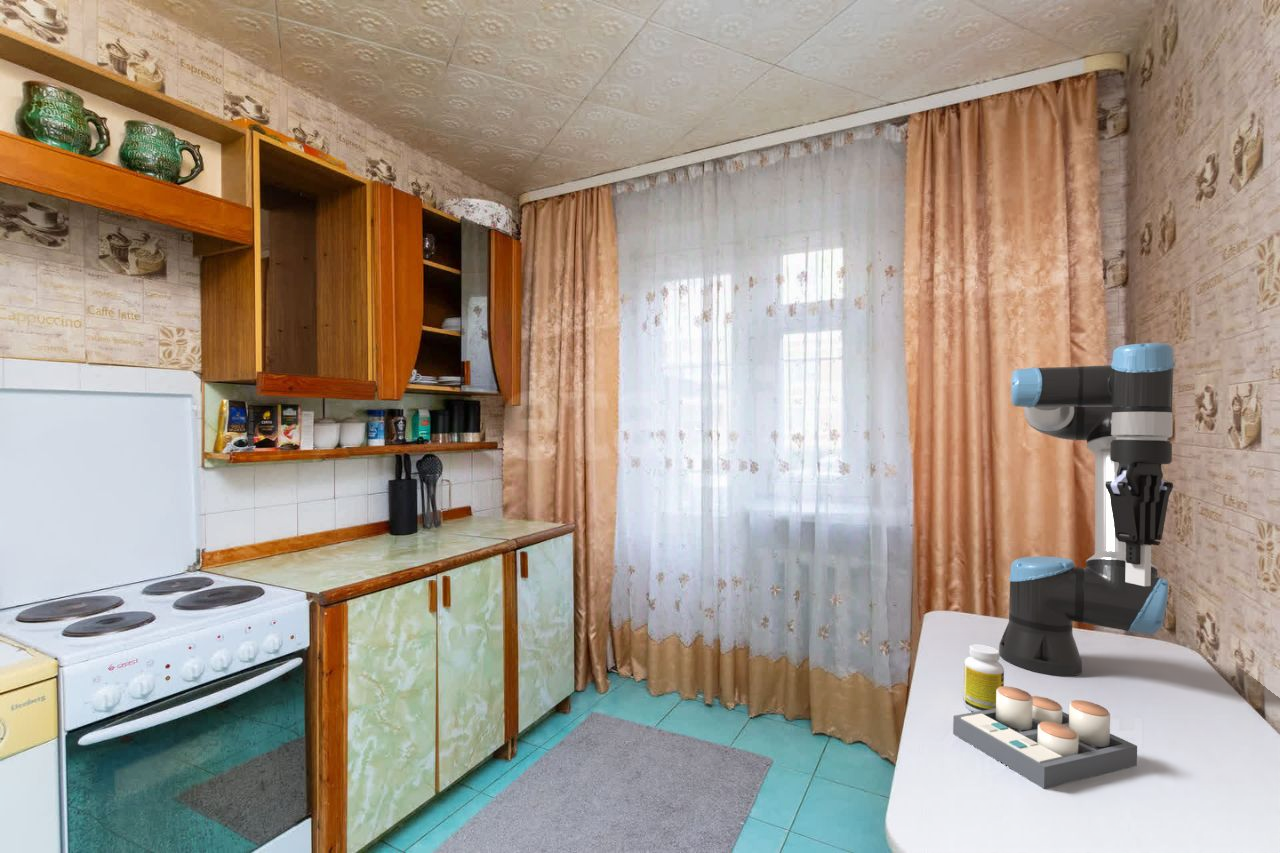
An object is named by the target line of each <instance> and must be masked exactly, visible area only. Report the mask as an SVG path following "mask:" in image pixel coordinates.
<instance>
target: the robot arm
mask: <svg viewBox="0 0 1280 853" xmlns="http://www.w3.org/2000/svg"><path fill="white" fill-rule="evenodd" d="M1175 366H1176V362H1175V360H1174V348H1173V347H1172V346H1171V345H1170V344H1167V343H1164V342H1163V343H1162V342H1161V343H1160V342H1150V343H1149V342H1148V343H1147V342H1146V343H1134V344H1133V343H1132V344H1126V345H1121V346H1118V347H1116V348H1115V349H1114V350H1113V352H1112V361H1111V363H1110V364H1108V365H1106V364H1105V365H1087V366H1086V365H1085V366H1062V367H1061V366H1060V367H1059V366H1058V367H1036V366H1035V367H1034V366H1033V367H1029V368H1018V369H1015V370H1014V371H1013V372H1012V373H1011V374H1012V375H1011V380H1010V381H1011V384H1010V387H1011V388H1010V389H1011V390H1010V395H1011V396H1010V399H1011V404H1012V405H1013V406H1014V407H1017V408H1018V407H1020V408H1021V407H1022V408H1024V409H1023V413H1024V418H1025V420H1026V423H1027V424H1028V425H1029V426H1030V427H1031V428H1033V429H1035V430H1036V431H1037V432H1040V433H1042V434H1044V435H1047V436H1050V437H1053V438H1058V439H1063V440H1069V441H1086V448H1087V449H1088V450H1089V451H1090V452H1092V453H1093V454H1094V471H1095V472H1094V485H1095V486H1094V554H1093V555H1092V556H1090V557H1089V558H1088V559H1086V561H1085V567H1079V566H1078V567H1076V563H1074V561H1073V560H1072V559H1071V558H1067V557H1058V556H1026V557H1020V558H1017V559H1015V560H1013V561H1012V562H1011V564H1010V570H1009V571H1010V573H1009V577H1008V581H1009V601H1008V602H1009V606H1008V607H1009V608H1008V623H1007V626H1005V627H1006V628H1005V629H1004V632H1003V634H1002V637H1001V640H1000V642H999V644H998V651H999V653H1000V654H999V657H1000V658H1002V659H1003V660H1004V661H1006V662H1007V663H1010V664H1012V665H1014V666H1017V667H1019V668H1022V669H1027V670H1028V671H1033V672H1036V673H1037V672H1038V673H1042V674H1047V675H1052V676H1061V677H1062V676H1064V677H1066V676H1068V677H1070V676H1072V677H1073V676H1078V675H1080V674H1081V673H1082V671H1083V670H1082V669H1083V661H1082V657H1081V656H1080V652H1079V649H1078V646H1077V644H1076V641H1075V638H1074V635H1073V622H1076V623H1081V624H1086V625H1093V626H1098V627H1105V628H1110V629H1113V630H1115V629H1116V630H1121V631H1125V632H1127V633H1137V634H1139V633H1140V634H1146V635H1154V634H1156V633H1158V632H1159V631H1160V630H1161V629H1162V626H1163V623H1164V619H1165V615H1166V611H1167V610H1166V609H1167V606H1168V599H1169V581H1168V580H1167V579H1166V578H1163V577H1160V576H1158V567H1157V566H1155V565H1154V564H1153V563H1152V546H1153V545H1154V546H1160V544H1161V541H1162V539H1163V534H1164V528H1165V522H1166V515H1167V510H1168V504H1169V500H1170V499H1169V498H1170V495H1171V493H1172V491H1173V488H1174V484H1173V482H1171V481H1170V482H1169V481H1165V479H1163V478H1164V477H1163V476H1164V473H1163V469H1162V465H1169V464H1171V463H1172V462H1173V443H1171V441H1170V440H1169V441H1168V439H1169V438H1173V436H1174V435H1173V430H1174V429H1173V428H1174V427H1173V426H1174V424H1173V421H1174V420H1173V416H1174V415H1173V392H1174V391H1173V390H1174V389H1173V388H1174V367H1175ZM1077 674H1078V675H1077Z"/></svg>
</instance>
